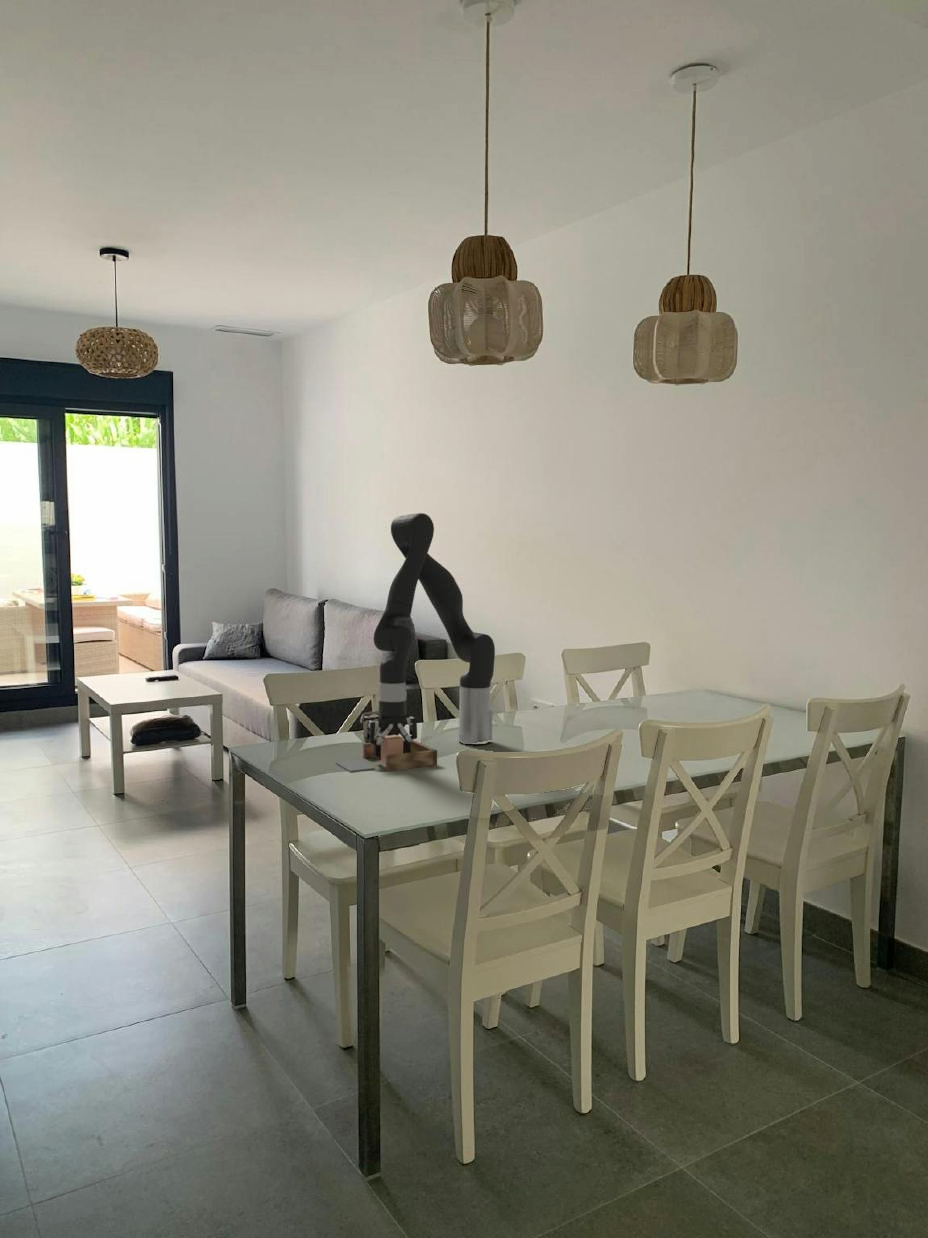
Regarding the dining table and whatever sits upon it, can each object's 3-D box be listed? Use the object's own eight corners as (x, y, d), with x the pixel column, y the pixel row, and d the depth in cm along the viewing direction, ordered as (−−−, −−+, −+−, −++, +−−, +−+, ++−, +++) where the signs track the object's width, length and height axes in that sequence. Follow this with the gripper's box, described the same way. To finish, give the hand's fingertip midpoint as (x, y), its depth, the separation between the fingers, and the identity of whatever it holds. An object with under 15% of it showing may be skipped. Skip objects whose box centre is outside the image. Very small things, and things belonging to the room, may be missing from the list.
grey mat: (359, 761, 266) (359, 759, 266) (374, 769, 257) (374, 767, 257) (335, 763, 263) (335, 762, 263) (350, 772, 254) (350, 770, 254)
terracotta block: (395, 759, 268) (396, 735, 268) (402, 763, 265) (403, 738, 264) (381, 761, 266) (381, 736, 266) (387, 765, 262) (388, 739, 262)
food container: (395, 742, 289) (395, 709, 288) (401, 747, 283) (401, 713, 282) (355, 745, 285) (355, 712, 284) (360, 750, 279) (360, 716, 278)
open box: (410, 752, 277) (410, 738, 277) (437, 765, 263) (437, 750, 263) (363, 757, 270) (363, 743, 270) (388, 771, 256) (388, 756, 255)
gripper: (409, 694, 270) (409, 750, 272) (363, 697, 263) (362, 756, 265) (422, 698, 264) (421, 756, 266) (374, 702, 257) (373, 762, 259)
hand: (391, 756), depth 265 cm, fingers open, 8 cm apart
